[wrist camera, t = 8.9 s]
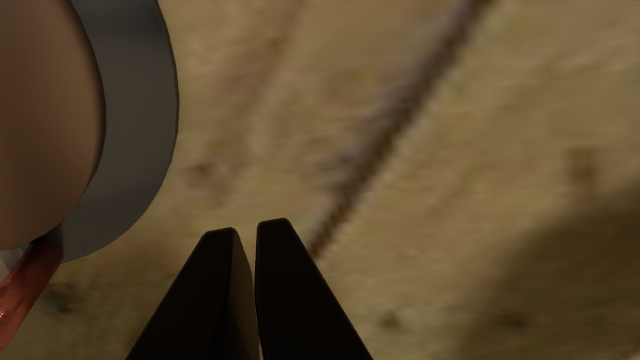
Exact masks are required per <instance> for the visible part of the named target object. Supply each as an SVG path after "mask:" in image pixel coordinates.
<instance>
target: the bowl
mask: <svg viewBox="0 0 640 360" xmlns="http://www.w3.org/2000/svg"><path fill="white" fill-rule="evenodd" d="M70 1H71V2H72V4H73V6H74V8H75V10H76V11H77V13H78V15H79V17H80V19H81V21H82V23H83V26H84V28H85V30H86V33H87V35H88V37H89V40H90V42H91V45H92V47H93V49H94V52H95V56H96V59H97V63H98V66H99V70H100V73H101V77H102V81H103V88H104V94H105V101H106V136H105V143H104V149H103V154H102V157H101V160H100V162H99V165H98V168H97V171H96V173H95V175H94V177H93V179H92V180H91V182H90V184H89V185H88V187H87V189H86V190H85V192H84V193H83V195H82V196H81V197H80V199H79V200H78V202H77V203H76V205H75V206H74V207H73V209H72V210H71V211H70V212H69V213H68V214H67V215H66V217H65V218H64V219H63V220H62V221H61V222H60V223H59V224H58V225H56V226H55V227H54V228H52V229H51V230H50V231H48V232H47V233H46V234H44V235H42V236H40V237H38V238H36V239H34V240H33V241H31V242H29V243H26V244H23V245H20V246H19V247H20V249H21V250H22V252H23V254H22V256H21V257H20V258H19V260H18V261H17V262H16V264H15V265H14V266H13V268H12V269H11V270H10V272H9V273H8V275H7V276H6V277H5V279H4V280H3V281H2V283H1V284H0V351H3V350H4V349H5V348H6V346H7V345H8V343H9V342H10V340H11V339H12V337H13V335H14V334H15V332H16V331H17V329H18V328H19V326H20V325H21V323H22V322H23V320H24V319H25V317H26V316H27V314H28V312H29V311H30V309H31V308H32V306H33V305H34V303H35V302H36V300H37V299H38V297H39V296H40V294H41V293H42V291H43V289H44V288H45V286H46V285H47V283H48V282H49V280H50V279H51V277H52V276H53V274H54V273H55V271H56V270H57V268H58V266H59V265H60V263H64V262H68V261H70V260H73V259H76V258H79V257H82V256H85V255H88V254H90V253H92V252H94V251H96V250H98V249H100V248H102V247H104V246H106V245H108V244H110V243H111V242H112V241H114V240H115V239H116V238H118V237H119V236H120V235H122V234H123V233H124V232H126V231H127V230H128V229H129V228H130V227H131V226H132V225H133V224H134V223H135V222H136V221H137V220H138V219H139V218H140V217H141V216H142V215H143V213H144V212H145V211H146V210H147V208H148V207H149V205H150V203H151V202H152V200H153V199H154V197H155V196H156V194H157V192H158V191H159V189H160V187H161V185H162V183H163V181H164V178H165V176H166V173H167V171H168V168H169V166H170V163H171V161H172V157H173V152H174V148H175V143H176V139H177V134H178V120H179V91H178V80H177V70H176V63H175V59H174V55H173V50H172V46H171V42H170V37H169V33H168V29H167V26H166V23H165V20H164V18H163V15H162V12H161V9H160V7H159V4H158V1H157V0H70Z"/></svg>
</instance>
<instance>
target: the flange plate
mask: <svg viewBox="0 0 640 360" xmlns="http://www.w3.org/2000/svg"><path fill="white" fill-rule="evenodd" d="M105 136H106V101H105V94H104V88H103V81H102V77H101V73H100V70H99V66H98V63H97V59H96V56H95V52H94V49H93V47H92V45H91V42H90V40H89V37H88V35H87V33H86V30H85V28H84V26H83V23H82V21H81V19H80V17H79V15H78V13H77V11H76V10H75V8H74V6H73V4H72V2H71V1H70V0H0V284H1V283H2V281H3V280H4V279H5V277H6V276H7V275H8V273H9V272H10V270H11V269H12V268H13V266H14V265H15V264H16V262H17V261H18V260H19V258H20V257H21V256H22V254H23V252H22V250H21V249H20V247H19V246H20V245H23V244H26V243H29V242H31V241H33V240H34V239H36V238H38V237H40V236H42V235H44V234H46V233H47V232H48V231H50V230H51V229H52V228H54V227H55V226H56V225H58V224H59V223H60V222H61V221H62V220H63V219H64V218H65V217H66V215H67V214H68V213H69V212H70V211H71V210H72V209H73V207H74V206H75V205H76V203H77V202H78V200H79V199H80V197H81V196H82V195H83V193H84V192H85V190H86V189H87V187H88V185H89V184H90V182H91V180H92V179H93V177H94V175H95V173H96V171H97V168H98V165H99V162H100V160H101V157H102V154H103V149H104V143H105Z"/></svg>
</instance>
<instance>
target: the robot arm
mask: <svg viewBox="0 0 640 360" xmlns="http://www.w3.org/2000/svg"><path fill="white" fill-rule="evenodd" d="M254 297H255V301H254ZM255 306H256V312H255ZM256 314H257V320H258V327H259V333H260V340H261V346H262V353H263V359H264V360H373V358H372V357H371V355H370V353H369V352H368V350H367V348H366V347H365V345H364V343H363V342H362V340H361V338H360V337H359V335H358V333H357V332H356V330H355V329H354V327H353V325H352V324H351V322H350V320H349V319H348V317H347V315H346V314H345V312H344V310H343V309H342V307H341V306H340V304H339V302H338V301H337V299H336V297H335V296H334V294H333V292H332V291H331V289H330V287H329V286H328V284H327V282H326V281H325V279H324V278H323V276H322V274H321V273H320V271H319V269H318V268H317V266H316V264H315V263H314V261H313V259H312V258H311V256H310V254H309V253H308V251H307V250H306V248H305V246H304V245H303V243H302V241H301V240H300V238H299V236H298V235H297V233H296V231H295V230H294V228H293V227H292V225H291V223H290V222H289V220H288V219H286V218H278V219H273V220H267V221H262V222H260V223H259V224H258V226H257V238H256V260H255V283H254V290H253V280H252V274H251V269H250V265H249V262H248V260H247V257H246V254H245V251H244V249H243V246H242V243H241V240H240V237H239V235H238V232H237V231H236V230H235V229H234V228H232V227H228V228H223V229H217V230H212V231H208V232H206V233H205V234H204V235H203V236H202V237H201V239H200V240H199V242H198V244H197V245H196V247H195V248H194V250H193V252H192V253H191V255H190V256H189V258H188V260H187V261H186V263H185V264H184V266H183V268H182V269H181V271H180V272H179V274H178V276H177V277H176V279H175V280H174V282H173V284H172V285H171V287H170V288H169V290H168V291H167V293H166V295H165V296H164V298H163V299H162V301H161V303H160V304H159V306H158V307H157V309H156V311H155V312H154V314H153V315H152V317H151V319H150V320H149V322H148V323H147V325H146V327H145V328H144V330H143V331H142V333H141V335H140V336H139V338H138V339H137V341H136V343H135V344H134V346H133V347H132V349H131V351H130V352H129V354H128V355H127V357H126V359H125V360H260V357H259V346H258V334H257V323H256Z"/></svg>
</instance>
